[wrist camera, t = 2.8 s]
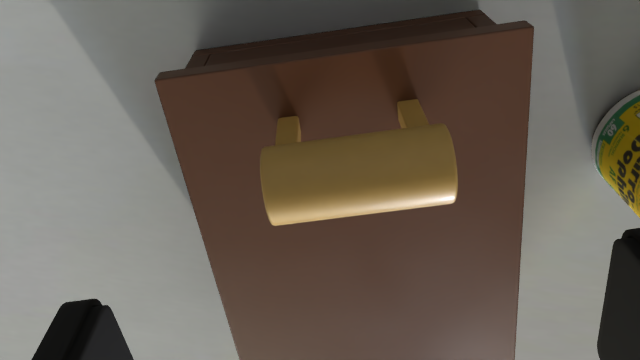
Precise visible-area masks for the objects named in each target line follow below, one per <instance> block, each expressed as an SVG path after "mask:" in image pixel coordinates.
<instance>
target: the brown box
mask: <svg viewBox="0 0 640 360" xmlns="http://www.w3.org/2000/svg"><path fill="white" fill-rule="evenodd" d="M490 25H497V24H496V23H494V22H493V21H492V20H491V19H490V18H489V17H488V16H486V15H485V13H483V12H482V11H481V10H474V11H467V12H460V13H453V14H447V15H440V16H433V17H426V18H419V19H412V20H405V21H398V22H391V23H384V24H377V25H370V26H363V27H356V28H349V29H342V30H335V31H328V32H321V33H314V34H307V35H300V36H293V37H286V38H279V39H273V40H266V41H259V42H252V43H245V44H238V45H231V46H224V47H217V48H210V49H203V50H196V51H195V52H194V54H193V55H192V58H191V59H190V61H189V63H188V64H187V66H186V68H185V69H187V68H194V67H201V66H208V65H216V64H223V63H230V62H237V61H244V60H251V59H258V58H265V57H272V56H279V55H286V54H293V53H300V52H307V51H314V50H321V49H328V48H335V47H342V46H349V45H356V44H363V43H370V42H377V41H385V40H392V39H399V38H406V37H413V36H420V35H427V34H434V33H441V32H448V31H455V30H462V29H469V28H476V27H483V26H490Z"/></svg>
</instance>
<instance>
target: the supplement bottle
mask: <svg viewBox="0 0 640 360" xmlns="http://www.w3.org/2000/svg"><path fill="white" fill-rule="evenodd" d="M591 153H592V159H593V163H594V165H595V168H596V169H597V171H598V172H599V174H600V175H601V176H602V177H603V178H604V180H605V181H606V182H607V183H608V184H609V185H610V186H611V188H612V189H613V190H614V191H615V192H616V193H617V194H618V195H619V196H620V197H621V198H622V199H623V200H624V201H625V202H626V203H627V204H628V205H629V206H630V207H631V208H632V210H633V211H634V212H635V213H636V214H637V215H638V216H639V218H640V90H639V91H636V92H634V93H632V94H630V95H628V96H627V97H625V98H623V99H622V100H621V101H619V102H618V103H617V104H616V105H615V106H613V107H612V108H611V109H610V110H609V112H608V113H607V114H606V115H605V116H604V118H603V119H602V121H601V122H600V124H599V125H598V127H597V129H596V131H595V133H594V136H593V140H592V147H591Z"/></svg>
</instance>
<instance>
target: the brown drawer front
mask: <svg viewBox="0 0 640 360" xmlns="http://www.w3.org/2000/svg"><path fill="white" fill-rule="evenodd" d="M533 36H534V27H533V26H532V25H531V24H529V23H528V22H527V21H518V22H511V23H504V24H497V25H490V26H483V27H476V28H469V29H462V30H455V31H448V32H441V33H434V34H427V35H420V36H413V37H406V38H399V39H392V40H385V41H377V42H370V43H363V44H356V45H349V46H342V47H335V48H328V49H321V50H314V51H307V52H300V53H293V54H286V55H279V56H272V57H265V58H258V59H251V60H244V61H237V62H230V63H223V64H216V65H208V66H201V67H194V68H187V69H180V70H173V71H166V72H160V73H159V75H158V76H157V78H156V79H155V84H156V88H157V91H158V94H159V97H160V101H161V104H162V107H163V110H164V114H165V117H166V120H167V124H168V127H169V130H170V133H171V137H172V140H173V143H174V146H175V150H176V153H177V156H178V160H179V163H180V166H181V169H182V173H183V176H184V179H185V182H186V186H187V189H188V192H189V196H190V199H191V202H192V205H193V209H194V212H195V215H196V219H197V222H198V225H199V228H200V232H201V235H202V238H203V241H204V245H205V248H206V251H207V255H208V258H209V261H210V264H211V268H212V271H213V274H214V277H215V281H216V284H217V287H218V291H219V294H220V297H221V300H222V304H223V307H224V310H225V314H226V317H227V320H228V323H229V327H230V330H231V333H232V336H233V340H234V343H235V346H236V350H237V353H238V356H239V359H240V360H515V343H516V326H517V309H518V292H519V275H520V258H521V241H522V224H523V207H524V190H525V172H526V155H527V138H528V121H529V104H530V87H531V70H532V53H533Z"/></svg>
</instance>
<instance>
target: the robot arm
mask: <svg viewBox="0 0 640 360" xmlns="http://www.w3.org/2000/svg"><path fill="white" fill-rule="evenodd" d="M597 349H598V354H599V358H600V360H640V228H636V229H629V230H626V231H625V232H624V233H623V235H622V238H621V239H617V240H615V242H614V244H613V249H612V255H611V261H610V267H609V274H608V280H607V286H606V292H605V298H604V304H603V311H602V317H601V323H600V329H599V335H598V341H597ZM32 360H134V359H133V357H132V355H131V353H130V350H129V348H128V346H127V344H126V341H125V339H124V337H123V335H122V332H121V330H120V328H119V326H118V323H117V321H116V319H115V317H114V314H113V312H112V310H111V308H110V307H109V306H108V305H103V306H102V304H101V302H100V301H99V300H97V299H89V300H81V301H73V302H66V303H64V304H62V306H61V307H60V308H59V310H58V312H57V314H56V316H55V317H54V319H53V321H52V323H51V325H50V327H49V329H48V330H47V332H46V334H45V336H44V338H43V340H42V342H41V343H40V345H39V347H38V349H37V351H36V353H35V354H34V356H33V358H32Z"/></svg>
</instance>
